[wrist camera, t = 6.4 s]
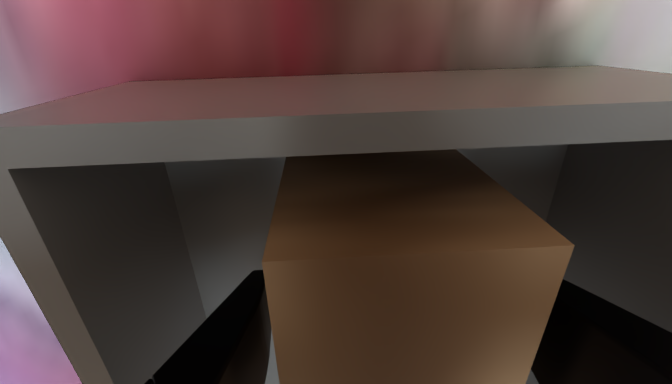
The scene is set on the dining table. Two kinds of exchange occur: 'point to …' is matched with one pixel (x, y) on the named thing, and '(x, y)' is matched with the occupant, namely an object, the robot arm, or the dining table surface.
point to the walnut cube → (406, 272)
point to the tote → (265, 175)
